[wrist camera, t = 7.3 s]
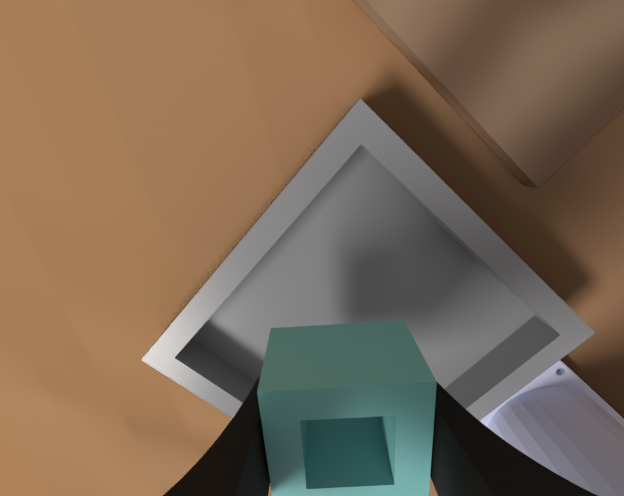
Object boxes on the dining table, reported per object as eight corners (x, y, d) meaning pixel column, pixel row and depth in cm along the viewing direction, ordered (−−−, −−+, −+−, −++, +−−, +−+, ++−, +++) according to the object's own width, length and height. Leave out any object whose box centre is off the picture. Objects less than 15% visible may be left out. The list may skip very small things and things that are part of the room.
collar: (404, 320, 13) (436, 381, 9) (401, 423, 14) (428, 507, 11) (270, 328, 13) (256, 391, 10) (283, 430, 15) (275, 515, 11)
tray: (557, 308, 18) (595, 332, 16) (362, 465, 22) (368, 505, 19) (352, 105, 15) (360, 98, 12) (163, 332, 18) (141, 359, 16)
